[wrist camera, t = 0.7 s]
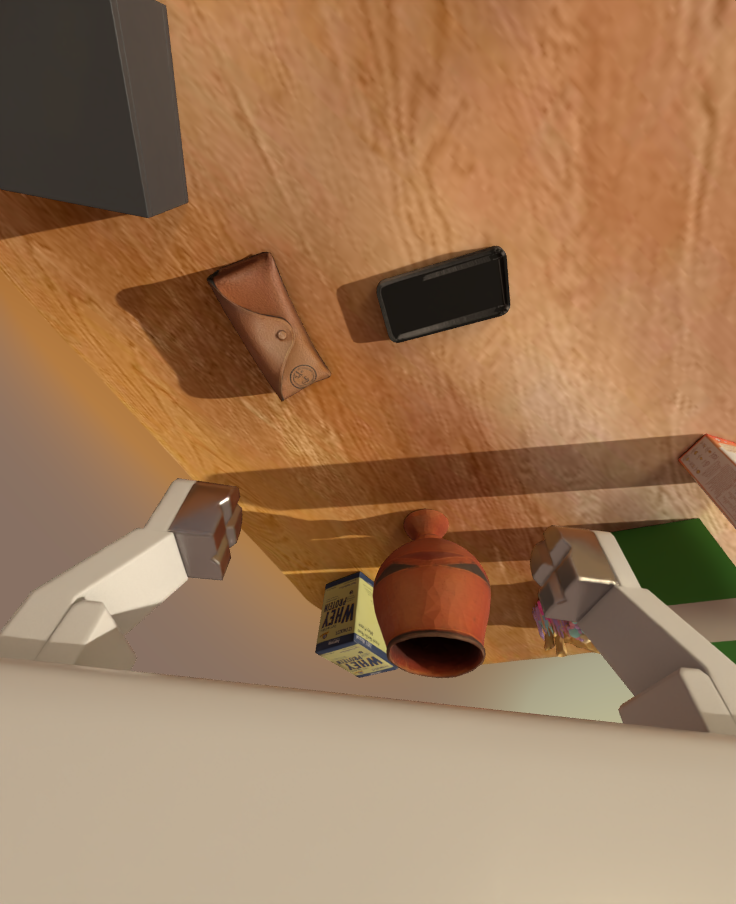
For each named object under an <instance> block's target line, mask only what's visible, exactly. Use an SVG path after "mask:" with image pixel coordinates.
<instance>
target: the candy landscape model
mask: <svg viewBox="0 0 736 904" xmlns="http://www.w3.org/2000/svg"><path fill="white" fill-rule="evenodd" d="M537 604H538V606H537V607H535V610H536V611H535V610H534V607H533V611H532V613H533V612H534V614H533V617H534V620H535V621H536V624H537V627H538V630H539V634H540V636H541V637H542V638H543V640H544V634H543V632H542V627H543V629H544V632H545V633H546V634H545V645H544V648H545V650H549V649H552V648H554V646H555V645H556V654H557V656H559V657H564V656H566V655H567V651H566V647H565V644H564V643H570V644H573V645H575V646H576V647H578V648H584V649H587V650H589V651H592V652H595V653H599V654H600V652H599V651H598V650H597V649H596V647H595V646H594V645H593V644H592V642H591V641H590V640H589V639H588V637H587V636H586V635H585V634H584V633H583V631H582V630H581V629H580V628H579V626H578V625H577V623H578V622H572V621H565V620H558V619H551V618H545V616H544V613H543V610H542V606H541V603H540V600H539V601H538V602H537ZM535 605H536V604H535ZM535 612H536V613H535ZM534 615H535V616H534ZM535 617H537V618H535ZM537 619H538V620H537ZM546 629H547V631H546ZM554 638H555V644H554Z"/></svg>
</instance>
